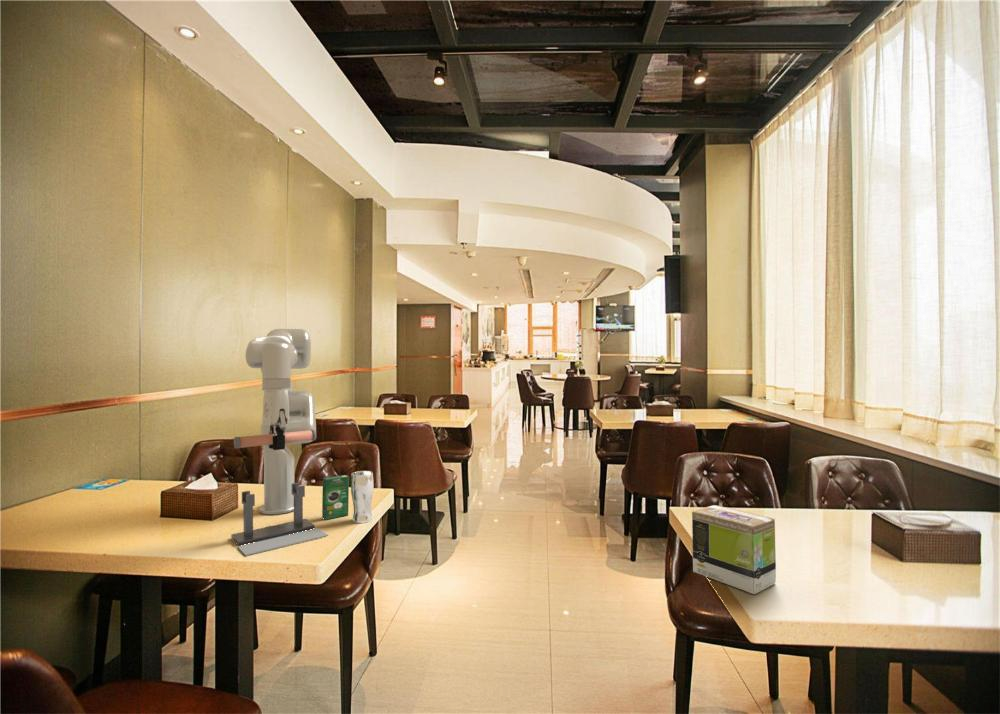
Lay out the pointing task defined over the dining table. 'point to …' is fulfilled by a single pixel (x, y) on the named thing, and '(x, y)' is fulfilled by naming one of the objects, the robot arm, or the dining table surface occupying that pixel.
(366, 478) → the beer glass
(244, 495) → the hook stand
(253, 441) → the rod
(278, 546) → the mat
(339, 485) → the coffee box
